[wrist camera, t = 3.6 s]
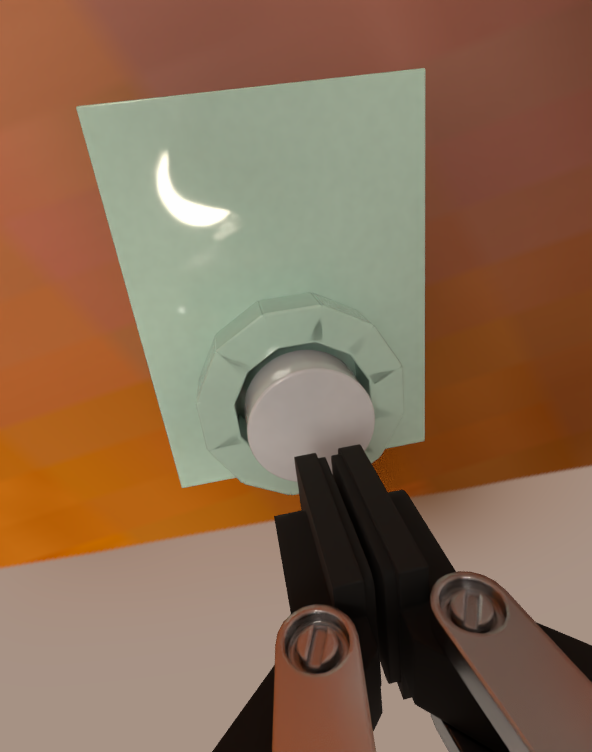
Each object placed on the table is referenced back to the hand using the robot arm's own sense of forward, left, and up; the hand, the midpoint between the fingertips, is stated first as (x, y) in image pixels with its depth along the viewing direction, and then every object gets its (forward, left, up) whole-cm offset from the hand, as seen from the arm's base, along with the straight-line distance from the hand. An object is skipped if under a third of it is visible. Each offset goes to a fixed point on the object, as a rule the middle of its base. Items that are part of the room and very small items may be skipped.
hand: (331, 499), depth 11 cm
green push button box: (-3, +2, -9) cm, 10 cm away
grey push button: (0, 0, -5) cm, 5 cm away
